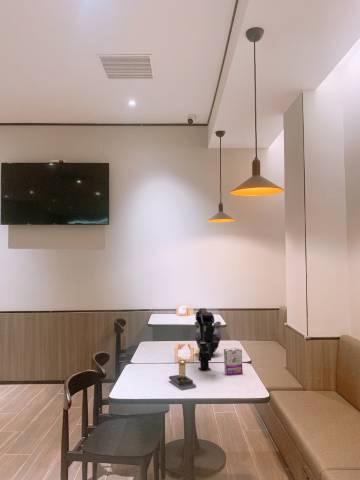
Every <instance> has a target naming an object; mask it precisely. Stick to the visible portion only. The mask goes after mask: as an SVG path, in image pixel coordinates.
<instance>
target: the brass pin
mask: <svg viewBox="0 0 360 480" xmlns="http://www.w3.org/2000/svg"><path fill="white" fill-rule="evenodd" d="M177 363H178V375H179V381H185V380H186V364H187V360H186V359H180V360H177Z"/></svg>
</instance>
